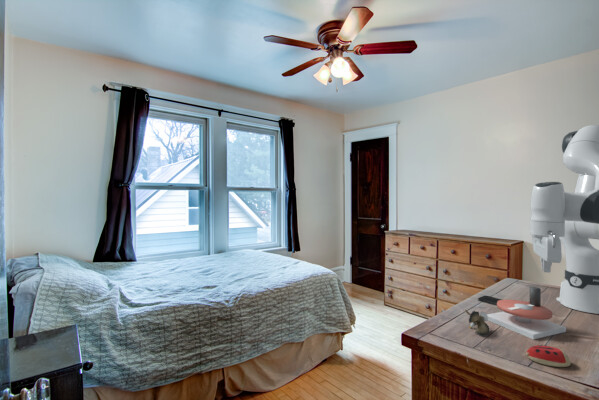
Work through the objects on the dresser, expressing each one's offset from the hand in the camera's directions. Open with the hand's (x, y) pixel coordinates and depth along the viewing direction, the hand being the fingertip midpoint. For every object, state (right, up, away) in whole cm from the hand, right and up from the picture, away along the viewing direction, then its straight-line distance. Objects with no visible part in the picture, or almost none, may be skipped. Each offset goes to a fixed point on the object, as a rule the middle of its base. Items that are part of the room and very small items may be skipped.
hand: (545, 271), depth 96 cm
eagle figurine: (-23, -19, 0) cm, 30 cm away
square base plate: (-5, -19, +3) cm, 20 cm away
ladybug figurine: (-16, -20, -19) cm, 31 cm away
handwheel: (-5, -14, +3) cm, 16 cm away
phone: (+1, -20, +24) cm, 31 cm away
